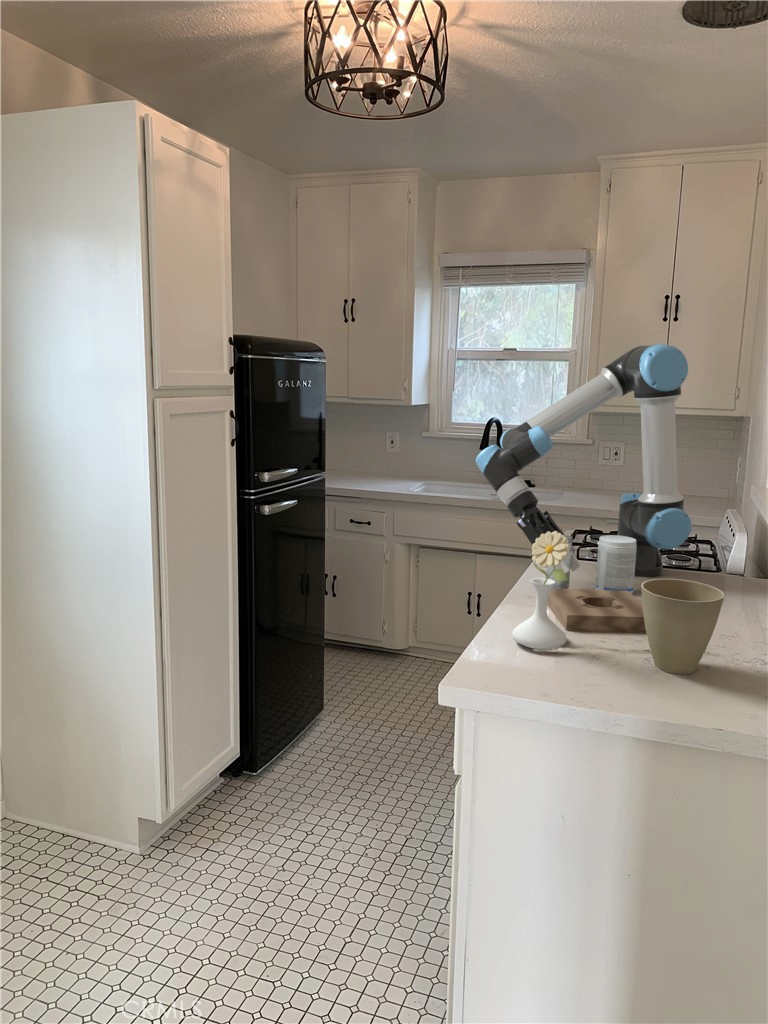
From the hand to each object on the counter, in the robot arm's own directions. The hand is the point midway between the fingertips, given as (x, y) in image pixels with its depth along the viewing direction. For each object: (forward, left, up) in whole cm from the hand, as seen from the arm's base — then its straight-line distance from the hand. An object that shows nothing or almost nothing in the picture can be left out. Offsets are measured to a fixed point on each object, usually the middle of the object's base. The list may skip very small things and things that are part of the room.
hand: (571, 570), depth 186 cm
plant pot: (-10, +43, -8) cm, 44 cm away
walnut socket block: (-3, +16, -8) cm, 18 cm away
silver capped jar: (+3, -2, -5) cm, 6 cm away
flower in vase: (+14, +33, -8) cm, 37 cm away
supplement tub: (-14, -7, -8) cm, 17 cm away
